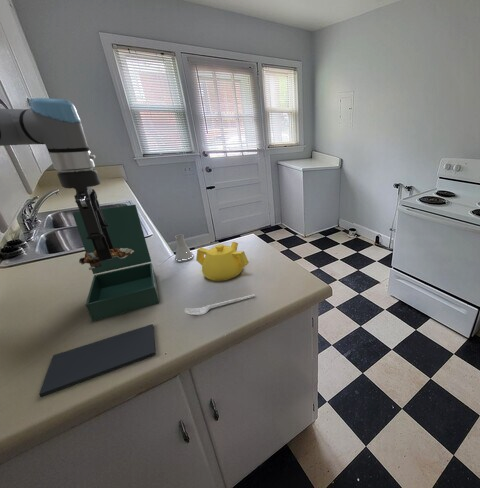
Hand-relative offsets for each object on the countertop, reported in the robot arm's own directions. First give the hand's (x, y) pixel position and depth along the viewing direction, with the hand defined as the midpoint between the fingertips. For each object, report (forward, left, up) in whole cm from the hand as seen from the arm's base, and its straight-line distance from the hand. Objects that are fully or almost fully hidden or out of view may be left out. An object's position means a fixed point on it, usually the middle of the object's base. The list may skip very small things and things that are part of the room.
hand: (106, 254), depth 75 cm
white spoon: (+25, -17, -17) cm, 35 cm away
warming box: (+1, +5, -17) cm, 18 cm away
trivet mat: (-3, -22, -17) cm, 28 cm away
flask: (+20, +25, -17) cm, 36 cm away
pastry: (0, +1, -2) cm, 2 cm away
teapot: (+32, +5, -17) cm, 36 cm away
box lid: (+1, +16, -1) cm, 16 cm away
